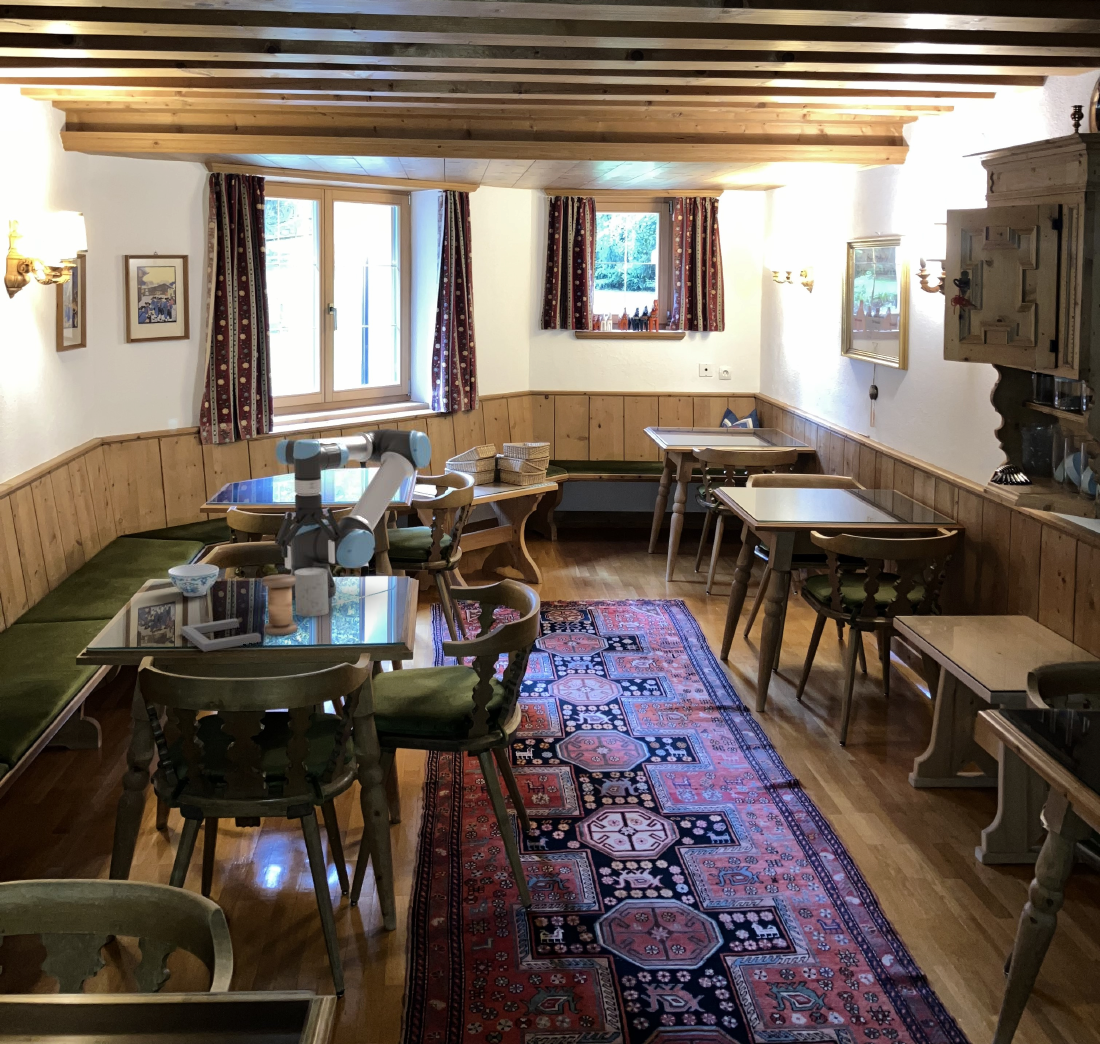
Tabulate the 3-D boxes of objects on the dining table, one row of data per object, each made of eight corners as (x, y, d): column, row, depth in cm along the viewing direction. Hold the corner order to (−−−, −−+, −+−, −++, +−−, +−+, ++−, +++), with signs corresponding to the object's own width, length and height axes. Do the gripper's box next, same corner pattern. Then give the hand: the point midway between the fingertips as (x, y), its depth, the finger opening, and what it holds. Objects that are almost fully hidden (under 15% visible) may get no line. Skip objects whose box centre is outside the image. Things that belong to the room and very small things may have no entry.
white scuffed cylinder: (335, 610, 344) (334, 569, 341) (315, 618, 335) (314, 576, 333) (308, 606, 348) (307, 566, 345) (289, 614, 339) (287, 573, 337)
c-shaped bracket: (181, 633, 319) (180, 626, 318) (235, 625, 327) (235, 618, 327) (204, 651, 303) (203, 644, 303) (261, 642, 312) (260, 634, 312)
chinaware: (200, 602, 351) (198, 577, 349) (159, 597, 356) (157, 572, 355) (229, 590, 365) (228, 566, 363) (190, 585, 370) (188, 562, 368)
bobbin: (259, 629, 324) (257, 577, 321) (289, 624, 329) (288, 572, 326) (271, 637, 316) (269, 583, 314) (302, 632, 322) (300, 579, 319)
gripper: (271, 499, 324) (274, 573, 328) (353, 491, 338) (354, 562, 342) (261, 495, 330) (264, 568, 334) (342, 488, 344) (344, 557, 349)
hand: (310, 565), depth 338 cm, fingers open, 13 cm apart
